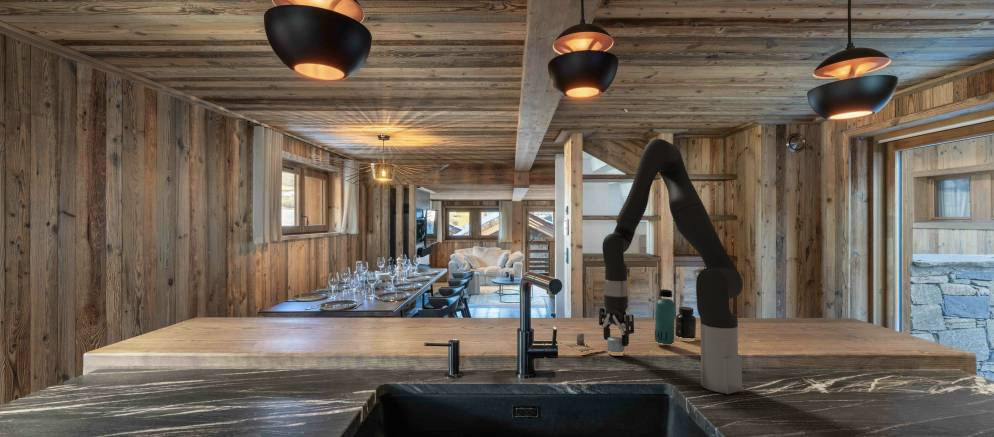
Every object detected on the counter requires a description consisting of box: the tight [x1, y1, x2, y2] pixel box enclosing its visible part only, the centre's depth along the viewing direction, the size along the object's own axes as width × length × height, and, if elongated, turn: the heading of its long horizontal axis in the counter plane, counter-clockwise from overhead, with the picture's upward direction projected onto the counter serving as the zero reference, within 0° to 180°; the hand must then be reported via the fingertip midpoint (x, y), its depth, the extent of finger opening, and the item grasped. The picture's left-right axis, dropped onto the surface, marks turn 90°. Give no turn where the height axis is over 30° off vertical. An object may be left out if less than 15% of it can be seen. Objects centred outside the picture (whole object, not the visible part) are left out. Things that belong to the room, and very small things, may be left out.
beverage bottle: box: [654, 288, 676, 345], centre depth 154 cm, size 6×7×20 cm
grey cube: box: [607, 336, 625, 352], centre depth 146 cm, size 5×5×5 cm
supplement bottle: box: [674, 306, 697, 339], centre depth 162 cm, size 7×7×12 cm
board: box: [559, 332, 595, 352], centre depth 152 cm, size 12×10×5 cm
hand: (615, 342), depth 146 cm, fingers open, 8 cm apart
